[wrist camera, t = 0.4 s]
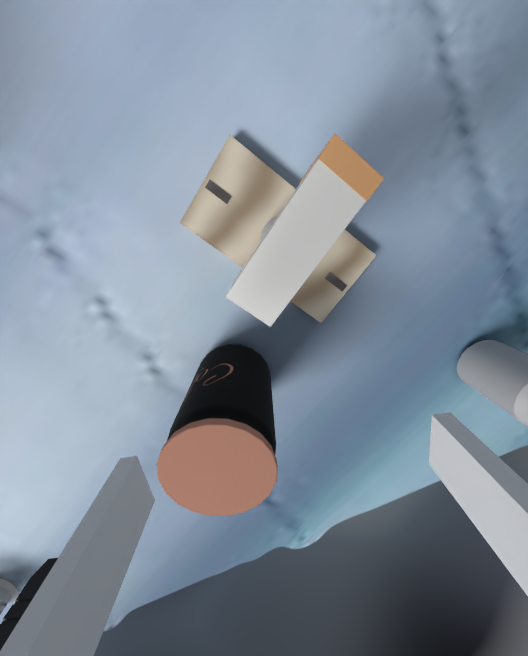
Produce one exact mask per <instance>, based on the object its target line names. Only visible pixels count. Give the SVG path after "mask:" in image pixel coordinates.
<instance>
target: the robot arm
mask: <svg viewBox="0 0 528 656" xmlns="http://www.w3.org/2000/svg"><path fill="white" fill-rule="evenodd" d="M429 464H430V466H431V467H432V468H433V470H434V471H435V472H436V474H437V475H438V476H439V478H440V479H441V480H442V482H443V483H444V484H445V486H446V487H447V489H448V490H449V491H450V493H451V494H452V495H453V496H454V498H455V499H456V500H457V502H458V503H459V505H460V506H461V507H462V508H463V510H464V511H465V512H466V514H467V515H468V516H469V518H470V519H471V521H472V522H473V523H474V525H475V526H476V527H477V529H478V530H479V531H480V533H481V534H482V535H483V537H484V538H485V539H486V541H487V542H488V543H489V545H490V546H491V547H492V549H493V550H494V551H495V553H496V554H497V555H498V557H499V558H500V560H501V561H502V562H503V564H504V565H505V566H506V568H507V569H508V570H509V571H510V573H511V574H512V576H513V577H514V578H515V580H516V581H517V582H518V583H519V585H520V586H521V588H522V589H523V590H524V592H525V593H526V594H527V596H528V484H527V483H526V482H525V481H524V480H523V479H522V478H520V477H519V476H518V475H517V474H516V473H515V472H514V471H513V470H512V469H511V468H510V467H509V466H508V465H506V464H505V463H504V462H503V461H502V460H501V459H500V458H499V457H498V456H497V455H496V454H495V453H493V452H492V451H491V450H490V449H489V448H488V447H487V446H486V445H485V444H484V443H483V442H482V441H480V440H479V439H478V438H477V437H476V436H475V435H474V434H473V433H472V432H471V431H470V430H469V429H467V428H466V427H465V426H464V425H463V424H462V423H461V422H460V421H459V420H458V419H457V418H456V417H454V416H453V415H452V414H451V413H443V414H435V415H432V425H431V441H430V457H429ZM154 501H155V500H154V497H153V495H152V492H151V490H150V487H149V485H148V482H147V480H146V477H145V475H144V472H143V470H142V467H141V465H140V462H139V460H138V457H137V456H134V457H127V458H120V460H119V462H118V463H117V465H116V466H115V468H114V470H113V471H112V473H111V474H110V476H109V478H108V479H107V481H106V482H105V484H104V486H103V487H102V489H101V490H100V492H99V494H98V495H97V497H96V498H95V500H94V502H93V503H92V505H91V506H90V508H89V510H88V511H87V513H86V514H85V516H84V518H83V519H82V521H81V522H80V524H79V526H78V527H77V529H76V530H75V532H74V534H73V535H72V537H71V538H70V540H69V542H68V543H67V545H66V546H65V548H64V550H63V551H62V553H61V554H60V556H59V558H53V559H48V560H47V561H46V562H45V563H44V564H43V565H42V566H41V568H40V569H39V570H38V571H37V572H36V573H35V574H34V575H33V576H32V577H31V578H30V580H29V581H28V583H27V584H26V585H25V587H24V588H23V590H22V591H21V593H20V594H19V596H18V597H17V599H16V602H15V604H14V605H12V606H11V608H10V609H9V611H8V612H7V614H6V615H5V617H4V618H3V622H2V623H1V624H0V656H93V655H94V653H95V650H96V648H97V645H98V643H99V640H100V638H101V635H102V633H103V630H104V627H105V625H106V622H107V620H108V617H109V615H110V612H111V610H112V607H113V605H114V602H115V600H116V597H117V595H118V592H119V590H120V587H121V585H122V582H123V579H124V577H125V574H126V572H127V569H128V567H129V564H130V562H131V559H132V557H133V554H134V552H135V549H136V547H137V544H138V542H139V539H140V536H141V534H142V531H143V529H144V526H145V524H146V521H147V519H148V516H149V514H150V511H151V509H152V506H153V504H154Z"/></svg>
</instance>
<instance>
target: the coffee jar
mask: <svg viewBox="0 0 528 656" xmlns="http://www.w3.org/2000/svg"><path fill="white" fill-rule="evenodd" d="M275 450H276V439H275V427H274V414H273V402H272V390H271V378H270V372H269V368H268V365H267V363H266V362H265V360H264V359H263V358H262V356H261V355H260V354H258V353H257V352H255V351H254V350H253V349H251V348H248V347H245V346H242V345H225V346H222V347H218V348H216V349H214V350H213V351H211V352H210V353H208V354H207V355H206V357H205V358H204V359H203V361H202V362H201V364H200V366H199V368H198V370H197V372H196V375H195V377H194V379H193V381H192V383H191V386H190V388H189V390H188V392H187V394H186V397H185V399H184V401H183V403H182V405H181V407H180V410H179V412H178V414H177V416H176V418H175V421H174V423H173V425H172V427H171V430H170V433H169V436H168V439H167V442H166V443H165V444H164V446H163V448H162V450H161V453H160V456H159V459H158V462H157V471H158V479H159V481H160V483H161V485H162V487H163V489H164V491H165V492H166V494H167V495H169V496H170V497H171V498H172V499H173V500H174V501H175V502H176V503H177V504H179V505H181V506H183V507H185V508H187V509H189V510H191V511H193V512H196V513H201V514H205V515H209V516H229V515H234V514H238V513H243V512H245V511H247V510H249V509H251V508H253V507H255V506H257V505H259V504H260V503H261V502H262V501H263V500H264V499H265V498H266V497H267V496H268V495H270V493H271V491H272V489H273V487H274V485H275V483H276V481H277V467H278V466H277V460H276V457H275Z"/></svg>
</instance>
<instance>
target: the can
mask: <svg viewBox="0 0 528 656" xmlns="http://www.w3.org/2000/svg"><path fill="white" fill-rule="evenodd" d="M457 372H458V375H459V377H460V379H461V380H463V381H464V382H465V383H467V384H468V385H470V386H471V387H472V388H474V389H475V390H477V391H478V392H479V393H481V394H482V395H484V396H485V397H486V398H488V399H489V400H491V401H492V402H494V403H495V404H496V405H498V406H499V407H501V408H502V409H503V410H505V411H506V412H508V413H509V414H510V415H512V416H513V417H515V418H516V419H517V420H519V421H520V422H522V423H523V424H525V425H528V354H526V353H524V352H522V351H519V350H517V349H515V348H512V347H510V346H508V345H506V344H503V343H501V342H498V341H495V340H483V341H480V342H477V343H475V344H473V345H472V346H470V347H468V348H467V349H466V350H465V351H464V352H463V353H462V355H461V356H460V358H459V360H458V365H457Z"/></svg>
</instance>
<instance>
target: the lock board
mask: <svg viewBox="0 0 528 656" xmlns="http://www.w3.org/2000/svg"><path fill="white" fill-rule="evenodd" d="M295 190H296V189H295V188H294V187H293V186H291V185H290V184H289V183H288V182H287V181H285V180H284V179H283V178H282V177H281V176H279V175H278V174H277V173H276V172H274V171H273V170H272V169H271V168H270V167H268V166H267V165H266V164H265V163H264V162H262V161H261V160H260V159H259V158H258V157H256V156H255V155H254V154H253V153H251V152H250V151H249V150H248V149H247V148H245V147H244V146H243V145H242V144H241V143H239V142H238V141H237V140H236V139H234V138H233V137H232V136H231V135H230V136H229V137H228V139H227V141H226V143H225V144H224V146H223V148H222V150H221V151H220V153H219V155H218V157H217V158H216V160H215V162H214V164H213V165H212V167H211V169H210V171H209V172H208V174H207V176H206V178H205V180H204V181H203V183H202V185H201V187H200V188H199V190H198V192H197V194H196V195H195V197H194V199H193V201H192V202H191V204H190V206H189V208H188V209H187V211H186V213H185V215H184V216H183V218H182V220H181V222H180V223H181V224H182V225H183V226H185V227H186V228H188V229H189V230H191V231H192V232H193V233H195V234H196V235H198V236H199V237H200V238H202V239H203V240H205V241H206V242H207V243H209V244H210V245H212V246H213V247H214V248H216V249H217V250H219V251H220V252H221V253H223V254H224V255H226V256H227V257H229V258H230V259H231V260H233V261H234V262H236V263H237V264H238V265H240V266H241V267H244V265H245V264H246V262H247V261H248V259H249V258H250V256H251V255H252V254H253V252H254V251H255V249H256V248H257V246H258V245H259V243H260V242H261V240H262V239H263V237H264V236H265V234H266V233H267V231H268V230H269V228H270V227H271V225H272V224H273V222H274V221H275V219H276V218H277V216H278V215H279V213H280V212H281V210H282V209H283V207H284V206H285V205H286V203H287V202H288V200H289V199H290V197H291V196H292V194H293V193H294V191H295ZM375 257H376V255H375V254H374V253H373V252H372V251H370V250H369V249H368V248H367V247H365V246H364V245H363V244H362V243H361V242H359V241H358V240H357V239H356V238H355V237H353V236H352V235H351V234H350V233H348V232H347V231H346V230H345V229H344V231H343V232H342V233H341V235H340V236H339V237H338V239H337V240H336V241H335V242H334V244H333V245H332V246H331V248H330V249H329V250H328V252H327V253H326V254H325V256H324V257H323V258H322V260H321V261H320V262H319V264H318V265H317V266H316V268H315V269H314V270H313V271H312V273H311V274H310V275H309V277H308V278H307V279H306V281H305V282H304V283H303V285H302V286H301V287H300V289H299V290H298V291H297V293H296V294H295V295H294V297H293V298H292V299H291V300H290V302H292V303H293V304H295V305H296V306H297V307H299V308H300V309H302V310H303V311H305V312H306V313H307V314H309V315H310V316H312V317H313V318H314V319H316V320H317V321H319V322H320V323H322V321H323V320H324V319H325V318H326V316H327V315H328V314H329V313H330V312H331V310H332V309H333V308H334V307H335V305H336V304H337V303H338V302H339V301H340V299H341V298H342V297H343V296H344V294H345V293H346V292H347V291H348V290H349V288H350V287H351V286H352V285H353V283H354V282H355V281H356V280H357V279H358V277H359V276H360V275H361V274H362V272H363V271H364V270H365V269H366V268H367V266H368V265H369V264H370V263H371V261H372V260H373V259H374V258H375Z"/></svg>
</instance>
